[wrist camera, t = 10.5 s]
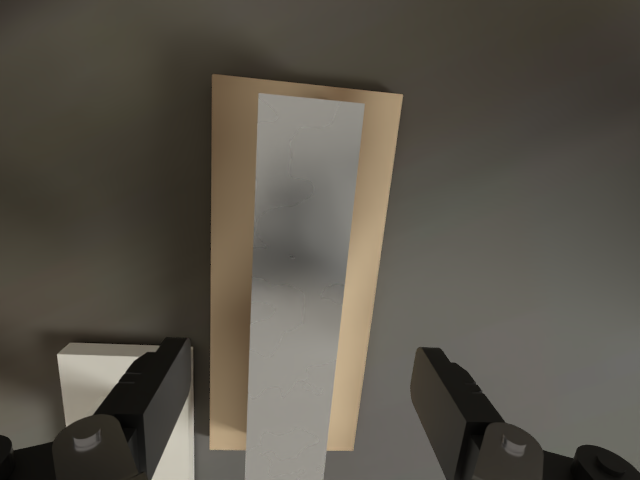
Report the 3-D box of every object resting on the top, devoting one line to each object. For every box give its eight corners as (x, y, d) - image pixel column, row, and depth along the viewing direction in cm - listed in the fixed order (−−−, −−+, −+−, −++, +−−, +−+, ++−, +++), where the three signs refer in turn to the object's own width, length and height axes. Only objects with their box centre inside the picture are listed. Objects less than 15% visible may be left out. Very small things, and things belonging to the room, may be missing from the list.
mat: (399, 96, 15) (403, 94, 15) (351, 441, 20) (353, 450, 20) (215, 76, 15) (212, 73, 14) (212, 440, 20) (209, 449, 19)
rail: (348, 112, 15) (365, 103, 12) (316, 435, 19) (321, 496, 16) (266, 104, 15) (258, 92, 11) (252, 434, 19) (244, 497, 16)
